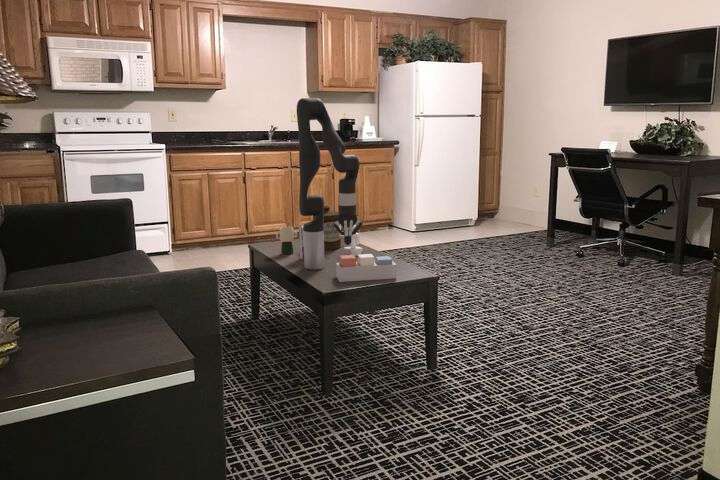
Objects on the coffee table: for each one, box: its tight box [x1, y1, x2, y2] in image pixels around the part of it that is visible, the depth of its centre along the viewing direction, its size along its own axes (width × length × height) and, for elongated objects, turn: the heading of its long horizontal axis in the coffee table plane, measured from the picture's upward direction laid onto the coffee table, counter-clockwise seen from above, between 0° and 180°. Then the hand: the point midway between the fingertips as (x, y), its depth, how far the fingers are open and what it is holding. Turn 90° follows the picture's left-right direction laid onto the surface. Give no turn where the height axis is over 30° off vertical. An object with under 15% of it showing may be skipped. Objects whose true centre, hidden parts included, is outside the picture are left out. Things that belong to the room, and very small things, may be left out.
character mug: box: [275, 226, 298, 255], centre depth 294 cm, size 11×7×13 cm, turn 111°
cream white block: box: [357, 253, 375, 266], centre depth 249 cm, size 6×6×5 cm
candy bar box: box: [298, 225, 304, 261], centre depth 283 cm, size 11×5×16 cm, turn 112°
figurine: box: [343, 224, 364, 257], centre depth 289 cm, size 7×9×15 cm
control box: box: [335, 260, 397, 283], centre depth 250 cm, size 9×24×6 cm, turn 101°
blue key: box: [374, 255, 393, 265], centre depth 250 cm, size 6×6×5 cm
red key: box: [339, 254, 357, 267], centre depth 247 cm, size 6×6×5 cm
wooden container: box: [312, 205, 342, 251], centre depth 308 cm, size 15×15×22 cm
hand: (347, 244), depth 246 cm, fingers closed
